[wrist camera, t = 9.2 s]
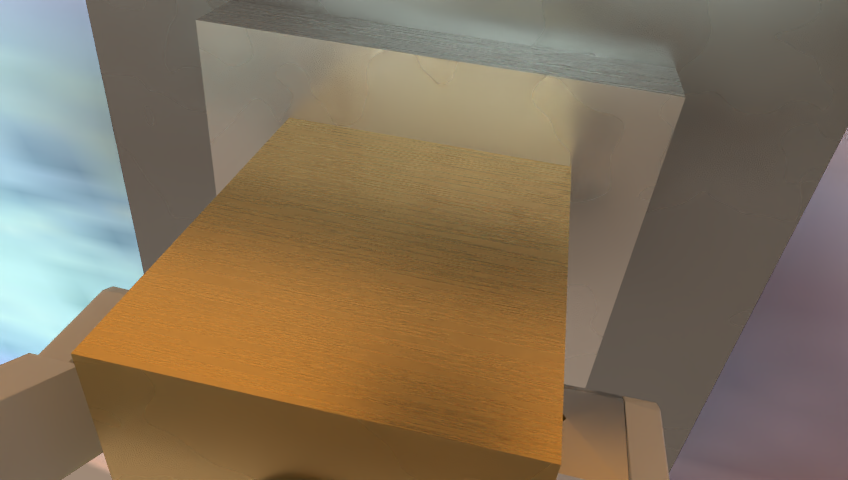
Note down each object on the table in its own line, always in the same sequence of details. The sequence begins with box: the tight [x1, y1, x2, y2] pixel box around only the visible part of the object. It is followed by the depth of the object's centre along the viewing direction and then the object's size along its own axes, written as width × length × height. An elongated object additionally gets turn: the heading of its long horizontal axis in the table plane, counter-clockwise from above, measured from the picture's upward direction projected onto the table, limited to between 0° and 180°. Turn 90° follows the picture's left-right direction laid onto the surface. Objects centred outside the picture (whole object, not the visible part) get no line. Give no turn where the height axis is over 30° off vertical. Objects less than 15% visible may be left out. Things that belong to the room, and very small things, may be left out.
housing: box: [71, 118, 571, 480], centre depth 10 cm, size 5×5×6 cm
